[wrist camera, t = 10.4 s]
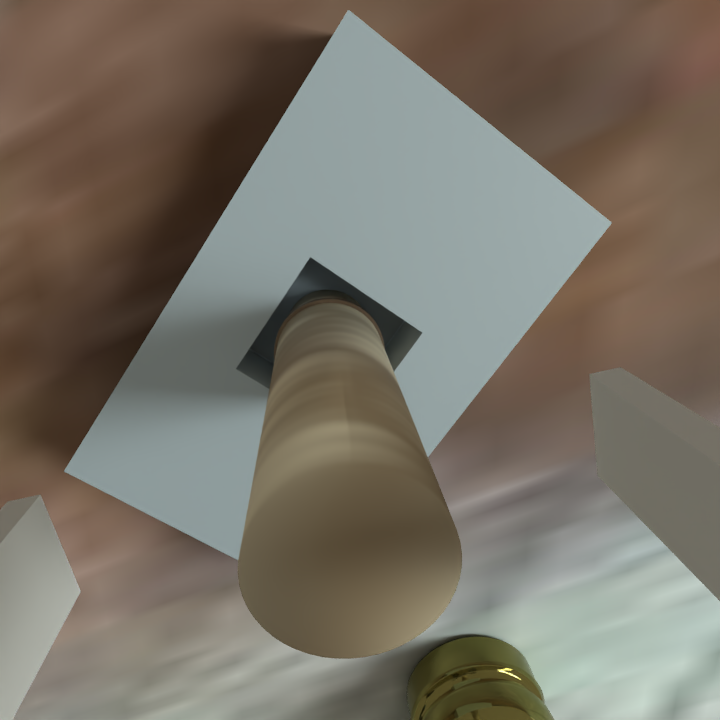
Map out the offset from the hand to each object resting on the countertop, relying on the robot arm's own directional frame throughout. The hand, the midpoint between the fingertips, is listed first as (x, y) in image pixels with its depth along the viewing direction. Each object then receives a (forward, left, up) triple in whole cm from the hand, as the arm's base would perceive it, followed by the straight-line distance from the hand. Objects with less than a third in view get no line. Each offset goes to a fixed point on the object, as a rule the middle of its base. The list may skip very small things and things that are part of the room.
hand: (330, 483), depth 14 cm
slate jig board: (0, 0, -14) cm, 14 cm away
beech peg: (0, 0, -12) cm, 12 cm away
